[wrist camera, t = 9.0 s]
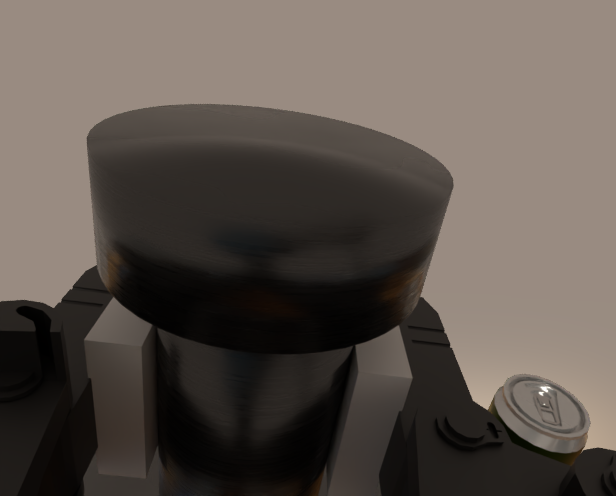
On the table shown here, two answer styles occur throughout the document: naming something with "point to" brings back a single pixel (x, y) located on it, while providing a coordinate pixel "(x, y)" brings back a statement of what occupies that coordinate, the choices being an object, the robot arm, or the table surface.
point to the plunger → (258, 275)
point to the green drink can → (542, 417)
